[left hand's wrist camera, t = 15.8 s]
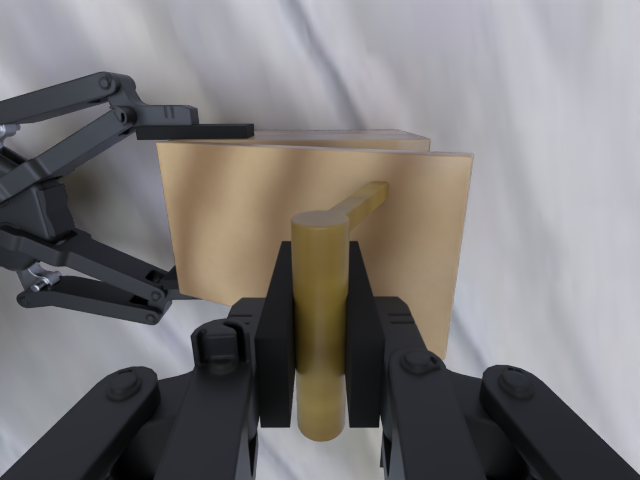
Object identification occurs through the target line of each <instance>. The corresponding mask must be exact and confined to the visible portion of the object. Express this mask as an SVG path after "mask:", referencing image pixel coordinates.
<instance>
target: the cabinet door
mask: <svg viewBox="0 0 640 480" xmlns="http://www.w3.org/2000/svg"><path fill="white" fill-rule="evenodd" d="M156 146H157V152H158V159H159V165H160V171H161V178H162V184H163V190H164V196H165V203H166V209H167V215H168V221H169V228H170V234H171V240H172V247H173V253H174V259H175V265H176V272H177V278H178V284H179V291H180V293H181V294H184V295H188V296H192V297H196V298H200V299H204V300H208V301H212V302H216V303H220V304H224V305H228V306H232V305H234V304H235V303H236V302H237V301H238V300H240V299H241V298H242V297H266V295H267V292H268V288H269V285H270V281H271V278H272V274H273V270H274V267H275V263H276V260H277V256H278V253H279V249H280V246H281V242H282V241H291V251H292V279H293V306H294V335H295V363H296V392H297V420H298V427H299V429H300V431H301V432H302V434H303V435H304V436H306V437H307V438H309V439H311V440H314V441H320V442H322V441H329V440H332V439H334V438H336V437H337V436H338V435H339V434H340V433H341V432H342V430H343V428H344V425H345V400H346V382H345V349H346V314H347V295H348V279H349V241H358V243H359V247H360V250H361V254H362V257H363V261H364V265H365V268H366V272H367V275H368V279H369V282H370V286H371V289H372V293H373V296H398V297H399V298H400V299H401V300H403V301H404V302H405V303H406V304H407V305H408V307H409V309H410V311H411V314H412V316H413V318H414V320H415V324H416V325H417V327H418V329H419V332H420V334H421V336H422V338H423V341H424V343H425V345H426V347H427V350H429V351H431V352H433V353H434V354H436V355H437V356H438V357H440V358H441V360H444V359H445V355H446V350H447V344H448V336H449V329H450V322H451V315H452V308H453V301H454V294H455V287H456V280H457V273H458V266H459V259H460V251H461V244H462V237H463V230H464V223H465V216H466V209H467V202H468V195H469V188H470V181H471V174H472V167H473V159H474V154H472V153H455V152H430V151H406V150H382V149H358V148H334V147H310V146H286V145H261V144H237V143H213V142H189V141H164V142H157V143H156Z"/></svg>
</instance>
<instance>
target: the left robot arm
mask: <svg viewBox="0 0 640 480" xmlns="http://www.w3.org/2000/svg"><path fill="white" fill-rule="evenodd" d="M191 342H192V349H193V355H194V362H195V367H194V370H193V371H191V372H189V373H186V374H183V375H179V376H175V377H171V378H166V379H162V380H158V378H157V374H156V373H155V372H154V371H153V370H152V369H150V368H147V367H143V366H141V367H129V368H125V369H121V370H118V371H116V372H114V373H112V374H110V375H108V376H106V377H105V378H104V379H102V380H101V381H100V382H98V383H97V384H96V385H95V386H94V387H93V388H92V389H91V390H90V391H89V392H88V393H87V394H86V395H85V396H84V397H83V398H82V399H81V400H80V401H79V402H78V403H77V404H75V405H74V406H73V407H72V408H71V409H70V410H69V411H68V412H67V413H66V414H65V415H64V416H63V417H62V418H61V419H60V420H59V421H58V422H57V423H56V424H55V425H54V426H53V427H52V428H51V429H50V430H49V431H48V432H47V433H46V434H45V435H44V436H42V437H41V438H40V439H39V440H38V441H37V442H36V443H35V444H34V445H33V446H32V447H31V448H30V449H29V450H28V451H27V452H26V453H25V454H24V455H23V456H22V457H21V458H20V459H19V460H18V461H17V462H16V463H15V464H14V465H13V466H12V467H11V468H9V469H8V470H7V471H6V472H5V473H4V474H3V475H2V476H1V477H0V480H255V477H256V466H257V455H258V434H257V427H258V422H259V417H260V424H261V428H290V422H291V411H292V400H293V389H294V379H295V368H296V363H295V335H294V306H293V279H292V251H291V241H282V242H281V246H280V249H279V253H278V256H277V260H276V263H275V267H274V270H273V274H272V278H271V281H270V285H269V288H268V292H267V295H266V297H242V298H241V299H240V300H238V301H237V302H236V303H235V304H234V305H232V308H231V310H230V312H229V314H228V317H227V319H218V320H213V321H210V322H208V323H205V324H203V325H201V326H200V327H198V328H197V329H195V331H194V332H193V333H192V335H191ZM345 382H346V393H347V403H348V414H349V425H350V428H379V420H380V416H381V421H382V426H383V434H382V446H381V459H380V467H384V476H385V480H640V475H639V474H638V473H637V472H636V471H635V470H634V469H633V468H632V467H631V466H630V465H629V464H628V463H627V462H626V461H625V460H624V459H623V458H621V457H620V456H619V455H618V454H617V453H616V452H615V451H614V450H613V449H612V448H611V447H610V446H609V445H608V444H607V443H606V442H605V441H604V440H603V439H602V438H601V437H600V436H599V435H598V434H597V433H596V432H595V431H593V430H592V429H591V428H590V427H589V426H588V425H587V424H586V423H585V422H584V421H583V420H582V419H581V418H580V417H579V416H578V415H577V414H576V413H575V412H574V411H573V410H572V409H571V408H570V407H569V406H568V405H566V404H565V403H564V402H563V401H562V400H561V399H560V398H559V397H558V396H557V395H556V394H555V393H554V392H553V391H552V390H551V389H550V388H549V387H548V386H547V385H546V384H545V383H544V382H543V381H541V380H540V379H539V378H537V377H536V376H535V375H533V374H532V373H529V372H527V371H525V370H523V369H521V368H517V367H513V366H509V365H495V366H491V367H488V368H487V369H486V370H485V371H484V372H483V377H482V379H480V378H475V377H471V376H467V375H462V374H459V373H455V372H452V371H450V370H448V369H446V366H445V364H444V363H443V361H442V360H441V358H440V357H438V356H437V355H436V354H434V353H433V352H431V351H429V350H427V347H426V345H425V343H424V341H423V338H422V336H421V334H420V332H419V329H418V327H417V325H416V324H415V320H414V318H413V316H412V314H411V311H410V309H409V307H408V305H407V304H406V303H405V302H404V301H403V300H401V299H400V298H399V297H398V296H373V293H372V289H371V286H370V282H369V279H368V275H367V272H366V268H365V265H364V261H363V257H362V254H361V250H360V247H359V243H358V241H349V279H348V295H347V314H346V349H345Z"/></svg>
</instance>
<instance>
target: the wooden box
mask: <svg viewBox="0 0 640 480" xmlns="http://www.w3.org/2000/svg"><path fill="white" fill-rule="evenodd" d="M169 141H189V142H213V143H237V144H261V145H286V146H310V147H334V148H358V149H382V150H406V151H429V150H430V139H429V138H425V137H422V136H418V135H415V134H411V133H408V132H404V131H401V130H273V131H254V136H252V137H250V138H248V139H173V140H169Z"/></svg>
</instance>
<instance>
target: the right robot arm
mask: <svg viewBox="0 0 640 480" xmlns="http://www.w3.org/2000/svg"><path fill="white" fill-rule="evenodd" d="M135 90H136V85H135V82H134V80H133V79H132V78H131V77H130V76H127V75H122V74H116V73H110V72H98V73H95V74H92V75H88V76H85V77H81V78H78V79H75V80H71V81H68V82H64V83H61V84H58V85H54V86H51V87H47V88H44V89H41V90H37V91H34V92H30V93H27V94H24V95H20V96H17V97H13V98H10V99H7V100H3V101H0V266H1V267H4V268H6V269H8V270H11V271H16V272H17V274H18V276H19V279H20V281H21V283H22V285H23V287H24V290H25V291H23V292H21V293H20V294H19V295H18V296H17V298H16V299H17V302H18V303H19V305H21V306H22V307H25V308H34V307H44V306H56V307H61V308H66V309H71V310H76V311H82V312H87V313H92V314H97V315H102V316H107V317H112V318H117V319H123V320H128V321H133V322H138V323H143V324H148V325H155V324H157V323H158V322H159V321H160V320H161V318H162V317H163V316H164V314H165V313H166V311H167V310H168V309H169V307H170V306H171V304H172V300H192V299H200V298H196V297H192V296H188V295H184V294H181V293H180V291H179V284H178V278H177V272H176V265H175V266H174V267H173V268H172V269H171V270H170V271H169V272H167V271H165V270H162V269H160V268H158V267H155V266H153V265H151V264H148V263H146V262H144V261H142V260H139V259H137V258H135V257H132V256H130V255H128V254H125V253H123V252H121V251H118V250H116V249H114V248H111V247H109V246H107V245H104V244H102V243H100V242H97V241H95V240H93V239H92V238H91V235H90V234H88V233H86V232H84V231H81V230H79V229H77V228H75V226H74V222H73V218H72V215H71V214H70V212H69V210H68V208H67V206H66V191H65V187H64V184H59V182H58V180H59V179H61V178H63V177H64V176H66V175H68V174H69V173H71V172H73V171H74V170H75V168H76V167H78V166H80V165H81V164H83V163H85V162H86V161H88V160H90V159H91V158H93V157H94V156H96V155H98V154H99V153H101V152H103V151H104V150H106V149H108V148H109V147H111V146H112V145H114V144H116V143H117V142H119V141H121V140H122V139H124V138H125V137H127V136H129V135H130V134H132V133H134V132H135V131H136V135H137V140H173V139H248V138H250V137H252V136H254V124H199V118H198V109H197V108H195V107H192V106H190V105H147V104H145V103H144V102H142V101H141V100H140V98H139V96H138V95H137V93H136V91H135ZM106 102H109V103H110V105H111V106H110V109H112V110H110V111H109V112H107V113H106V114H104V115H102V116H101V117H99V118H98V119H96V120H95V121H93V122H91V123H90V124H88V125H87V126H85V127H83V128H82V129H80V130H79V131H77V132H76V133H74V134H72V135H71V136H69V137H68V138H66V139H65V140H63V141H61V142H60V143H58V144H57V145H55V146H53V147H52V148H50V149H49V150H47V151H46V152H44V153H42V154H41V155H39V156H38V157H36V158H33V159H31V160H27V159H25V158H24V157H22V156H20V155H19V154H17V153H15V152H14V151H12V150H10V149H9V148H7V147H5V146H3V141H4V139H5V138H7V137H10V136H14V135H15V134H16V132H17V131H19V130H20V124H25V123H35V122H39V121H43V120H46V119H50V118H53V117H57V116H60V115H64V114H67V113H71V112H74V111H78V110H81V109H85V108H88V107H92V106H95V105H99V104H102V103H106ZM40 261H42V262H45V263H47V264H50V265H52V266H57V267H60V266H67V267H69V268H72V269H74V270H77V271H79V272H82V273H84V274H86V275H89V276H91V277H94V278H96V279H98V280H101V281H97V280H92V279H87V278H83V277H77V276H62V273H61V272H60V271H54V272H52V271H47V270H44V269H43V268H41V267H40V265H39V262H40ZM102 281H103V282H102Z"/></svg>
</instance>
